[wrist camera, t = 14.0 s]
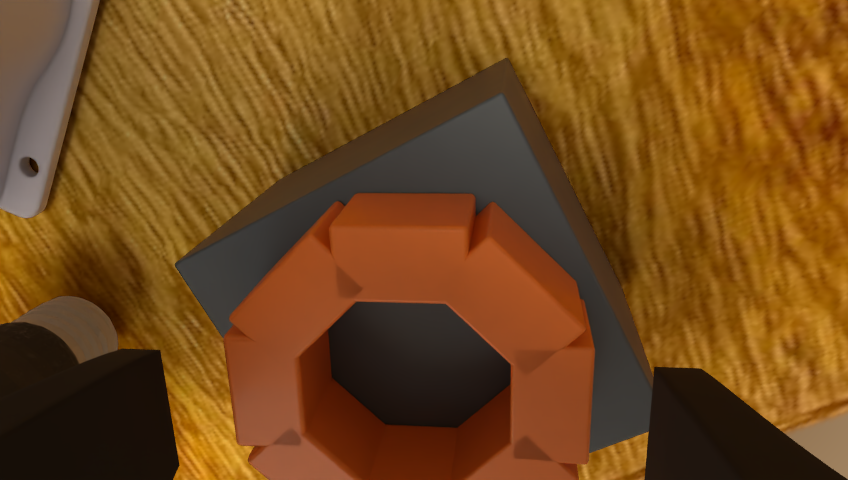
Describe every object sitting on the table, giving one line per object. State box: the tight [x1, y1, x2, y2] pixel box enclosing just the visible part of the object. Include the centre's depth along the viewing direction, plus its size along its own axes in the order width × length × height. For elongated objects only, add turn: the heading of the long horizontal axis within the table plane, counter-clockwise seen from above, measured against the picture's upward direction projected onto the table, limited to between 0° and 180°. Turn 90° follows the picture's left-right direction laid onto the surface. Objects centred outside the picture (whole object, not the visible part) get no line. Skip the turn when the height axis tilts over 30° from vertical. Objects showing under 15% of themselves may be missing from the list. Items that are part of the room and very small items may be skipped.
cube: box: [175, 58, 654, 453], centre depth 15 cm, size 6×6×6 cm
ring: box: [223, 193, 595, 480], centre depth 12 cm, size 6×6×2 cm
